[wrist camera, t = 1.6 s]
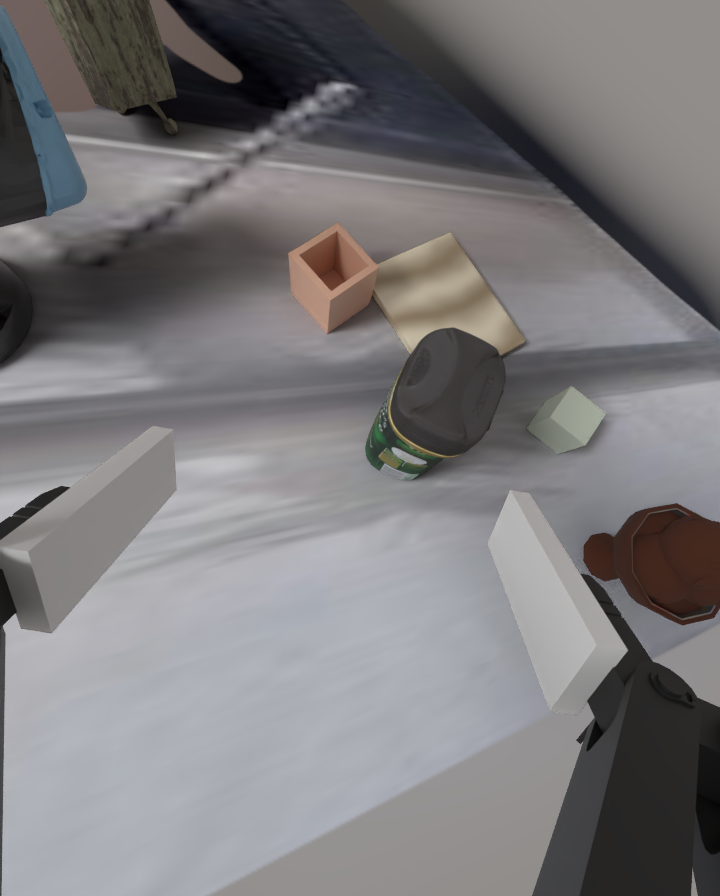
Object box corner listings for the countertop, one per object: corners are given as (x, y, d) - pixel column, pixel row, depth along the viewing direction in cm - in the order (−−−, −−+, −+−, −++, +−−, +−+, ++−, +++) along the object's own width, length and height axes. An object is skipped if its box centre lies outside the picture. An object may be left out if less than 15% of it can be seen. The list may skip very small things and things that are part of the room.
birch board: (360, 277, 49) (361, 270, 48) (447, 238, 52) (450, 232, 51) (434, 393, 47) (438, 389, 46) (520, 345, 50) (525, 341, 49)
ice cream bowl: (561, 599, 43) (688, 632, 29) (563, 502, 46) (681, 487, 31) (646, 613, 44) (811, 651, 30) (644, 516, 47) (794, 508, 32)
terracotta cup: (291, 293, 48) (288, 253, 41) (334, 265, 49) (338, 222, 42) (327, 334, 47) (330, 300, 40) (369, 304, 49) (379, 267, 42)
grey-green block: (525, 428, 47) (550, 417, 43) (545, 400, 49) (571, 385, 44) (557, 454, 47) (585, 445, 42) (576, 425, 49) (606, 413, 44)
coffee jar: (386, 391, 46) (434, 300, 28) (444, 419, 46) (530, 346, 28) (353, 462, 44) (383, 412, 26) (415, 491, 44) (489, 461, 26)
